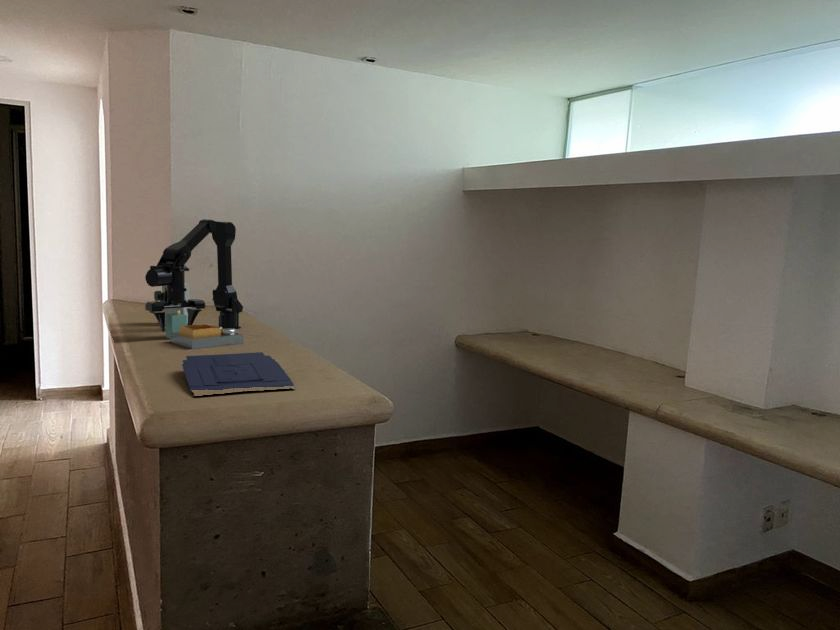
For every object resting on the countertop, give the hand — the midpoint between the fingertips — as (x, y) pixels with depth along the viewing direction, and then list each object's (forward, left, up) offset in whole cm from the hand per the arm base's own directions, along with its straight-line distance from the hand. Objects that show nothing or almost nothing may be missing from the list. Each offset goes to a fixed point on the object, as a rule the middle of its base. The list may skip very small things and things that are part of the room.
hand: (176, 330), depth 222 cm
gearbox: (-4, +14, -2) cm, 15 cm away
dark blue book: (+15, +65, -3) cm, 67 cm away
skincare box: (-13, -27, -3) cm, 30 cm away
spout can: (0, 0, -3) cm, 3 cm away
